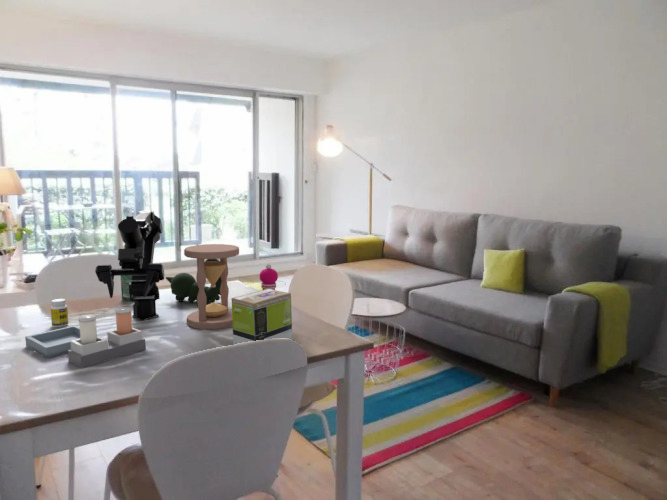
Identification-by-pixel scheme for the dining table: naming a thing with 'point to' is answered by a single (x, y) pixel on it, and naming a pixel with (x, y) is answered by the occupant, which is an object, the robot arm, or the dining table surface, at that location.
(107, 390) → the dining table surface
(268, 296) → the tea box
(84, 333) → the cylinder
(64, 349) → the parts tray
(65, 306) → the supplement bottle
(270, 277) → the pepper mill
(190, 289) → the toy figurine
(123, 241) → the robot arm
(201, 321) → the hourglass
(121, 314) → the marked fuse
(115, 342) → the block
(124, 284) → the green container
